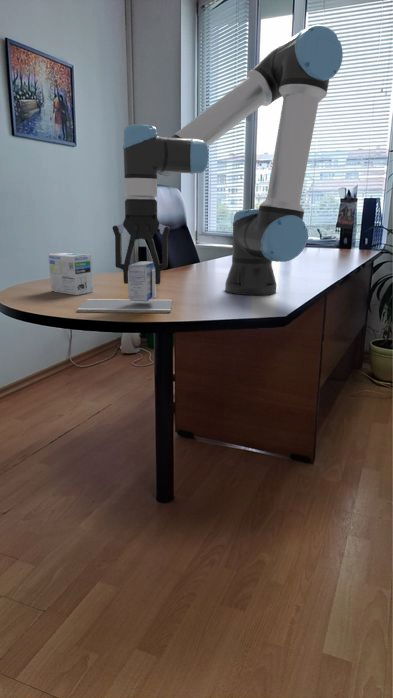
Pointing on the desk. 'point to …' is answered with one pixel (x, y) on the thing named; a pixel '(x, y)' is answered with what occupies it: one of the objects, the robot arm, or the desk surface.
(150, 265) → the medicine box
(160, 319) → the desk surface
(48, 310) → the desk surface
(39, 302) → the desk surface
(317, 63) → the robot arm
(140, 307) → the mat
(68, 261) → the light bulb box
